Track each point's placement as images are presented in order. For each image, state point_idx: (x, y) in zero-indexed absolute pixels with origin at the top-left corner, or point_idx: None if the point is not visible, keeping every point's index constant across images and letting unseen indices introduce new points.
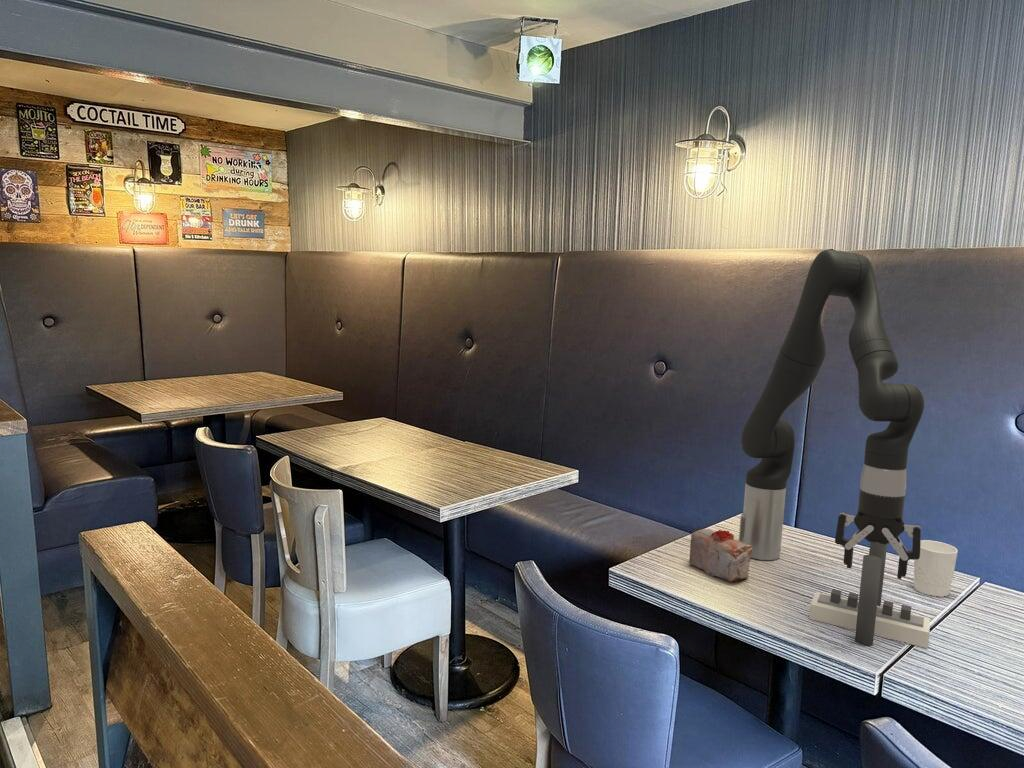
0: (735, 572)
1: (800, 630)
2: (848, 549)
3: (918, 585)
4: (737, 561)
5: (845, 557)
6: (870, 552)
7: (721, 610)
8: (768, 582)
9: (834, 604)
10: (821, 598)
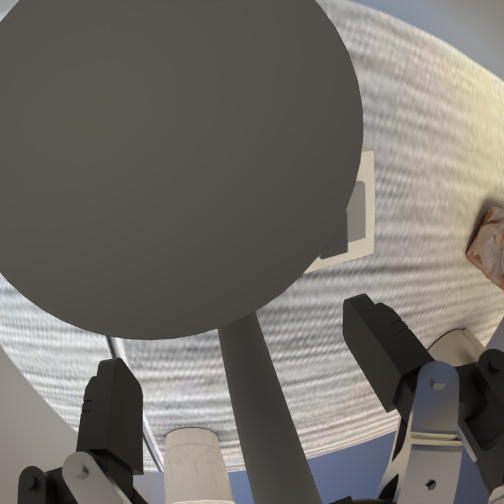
0: (501, 214)
1: None
2: (425, 366)
3: (205, 437)
4: None
5: (400, 329)
6: (297, 447)
7: (478, 66)
8: (438, 269)
9: None
10: (357, 203)
